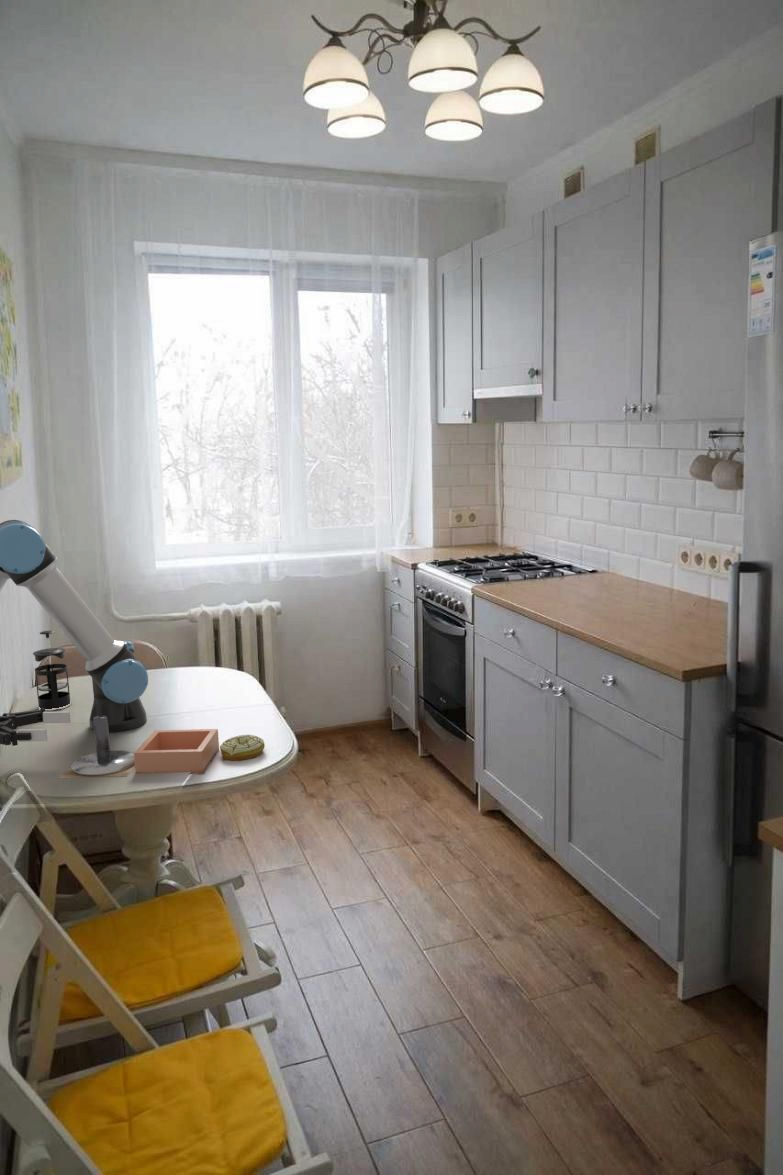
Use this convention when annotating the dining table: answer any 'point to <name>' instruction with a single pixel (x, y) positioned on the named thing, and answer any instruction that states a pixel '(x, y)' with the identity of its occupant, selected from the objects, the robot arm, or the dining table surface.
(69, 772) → the trivet
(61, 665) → the french press
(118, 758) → the lid
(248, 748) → the decorated donut
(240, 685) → the dining table surface
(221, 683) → the dining table surface
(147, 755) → the terracotta square tray
